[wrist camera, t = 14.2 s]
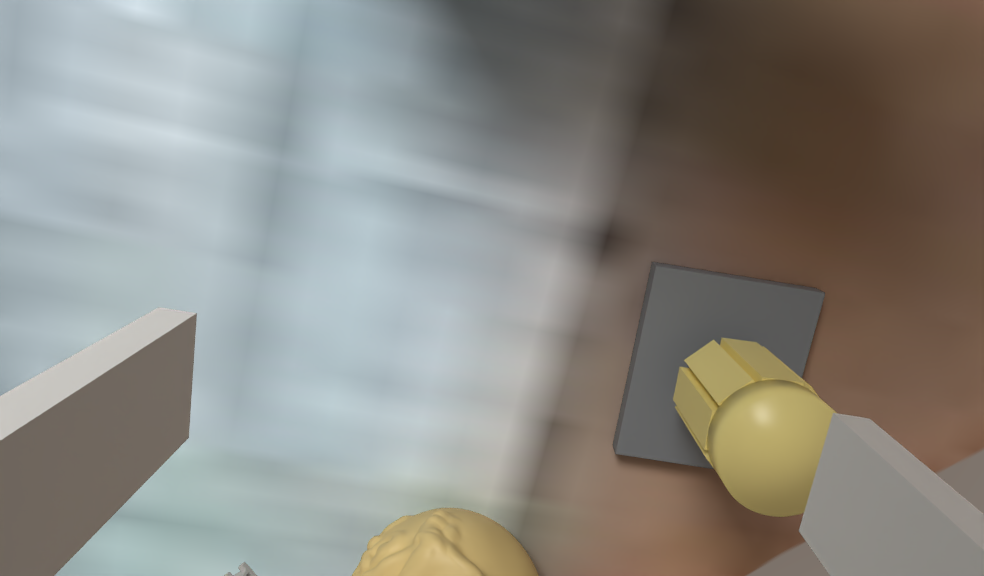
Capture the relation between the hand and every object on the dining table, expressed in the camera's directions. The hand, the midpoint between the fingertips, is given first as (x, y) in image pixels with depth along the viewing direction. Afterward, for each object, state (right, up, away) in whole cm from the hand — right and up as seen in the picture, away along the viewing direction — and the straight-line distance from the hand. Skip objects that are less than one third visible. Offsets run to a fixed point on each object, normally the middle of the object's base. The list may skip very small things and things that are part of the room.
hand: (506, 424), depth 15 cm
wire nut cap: (+13, -3, +26) cm, 30 cm away
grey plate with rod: (+13, -2, +30) cm, 33 cm away
